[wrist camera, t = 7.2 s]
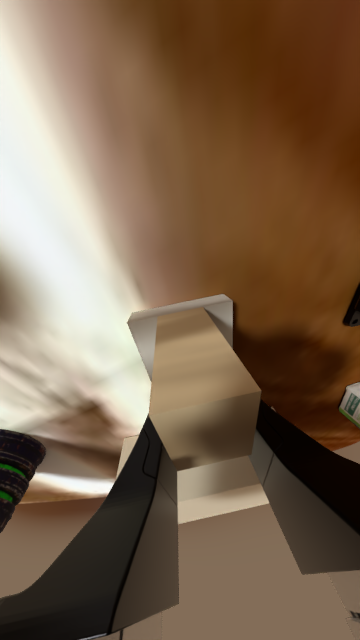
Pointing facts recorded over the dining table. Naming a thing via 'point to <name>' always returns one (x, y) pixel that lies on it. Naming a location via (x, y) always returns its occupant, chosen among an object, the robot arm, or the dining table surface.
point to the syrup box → (351, 404)
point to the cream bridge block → (212, 486)
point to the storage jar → (16, 469)
